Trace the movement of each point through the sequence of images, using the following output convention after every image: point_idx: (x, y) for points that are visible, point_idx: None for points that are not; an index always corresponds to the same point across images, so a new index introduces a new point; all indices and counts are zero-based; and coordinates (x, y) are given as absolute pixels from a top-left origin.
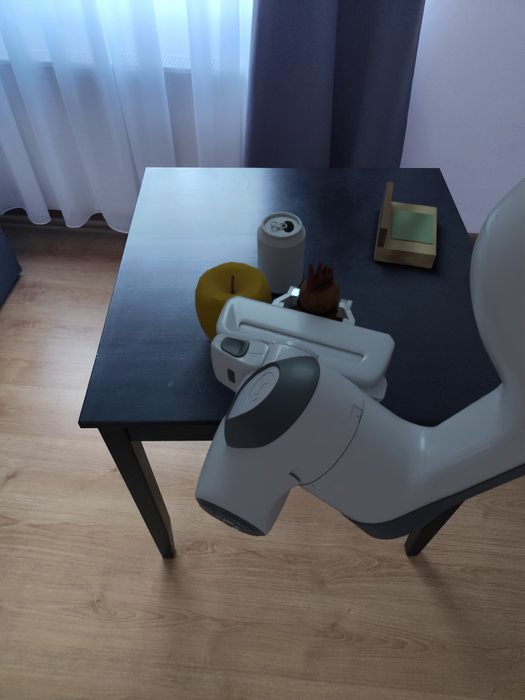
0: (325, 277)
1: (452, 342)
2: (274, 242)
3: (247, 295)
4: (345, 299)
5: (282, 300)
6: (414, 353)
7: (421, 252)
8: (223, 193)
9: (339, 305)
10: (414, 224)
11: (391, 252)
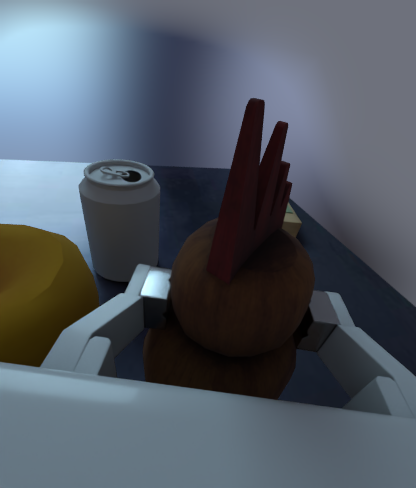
0: (273, 217)
1: (370, 324)
2: (107, 195)
3: (3, 306)
4: (315, 290)
5: (104, 326)
6: None
7: (286, 220)
8: (60, 176)
9: (316, 315)
10: None
11: None
